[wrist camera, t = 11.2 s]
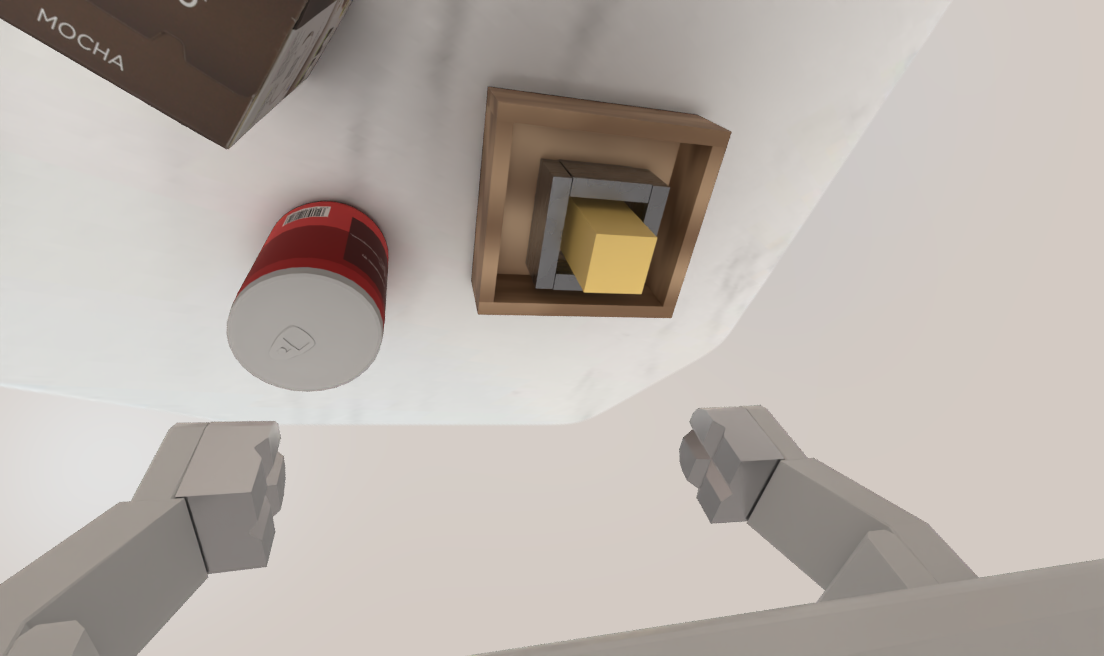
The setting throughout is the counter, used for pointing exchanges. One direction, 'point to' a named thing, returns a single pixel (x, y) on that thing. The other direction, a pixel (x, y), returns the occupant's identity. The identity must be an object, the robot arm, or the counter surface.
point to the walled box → (598, 137)
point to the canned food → (313, 300)
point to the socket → (587, 182)
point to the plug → (606, 246)
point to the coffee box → (190, 51)
